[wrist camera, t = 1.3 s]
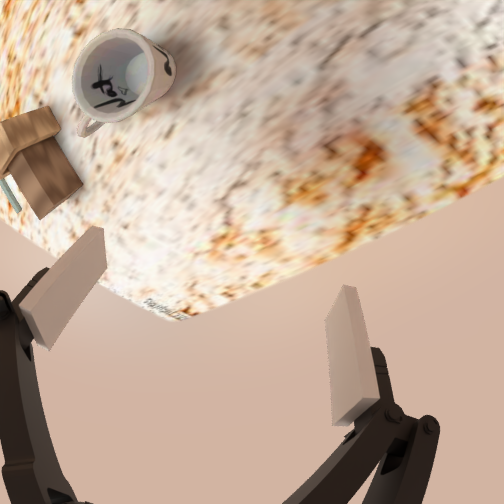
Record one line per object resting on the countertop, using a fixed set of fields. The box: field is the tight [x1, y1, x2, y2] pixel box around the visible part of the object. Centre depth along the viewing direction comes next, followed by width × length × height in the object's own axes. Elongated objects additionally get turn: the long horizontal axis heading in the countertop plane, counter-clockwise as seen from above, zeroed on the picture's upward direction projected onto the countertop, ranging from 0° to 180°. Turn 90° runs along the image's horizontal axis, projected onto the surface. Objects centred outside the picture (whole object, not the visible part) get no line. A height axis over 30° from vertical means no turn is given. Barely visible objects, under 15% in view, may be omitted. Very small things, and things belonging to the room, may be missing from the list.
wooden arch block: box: [0, 106, 61, 180], centre depth 31 cm, size 5×10×11 cm, turn 118°
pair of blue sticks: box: [0, 178, 21, 213], centre depth 38 cm, size 18×9×1 cm, turn 28°
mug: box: [72, 28, 176, 138], centre depth 27 cm, size 10×15×10 cm
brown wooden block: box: [7, 136, 83, 220], centre depth 34 cm, size 16×5×8 cm, turn 28°
